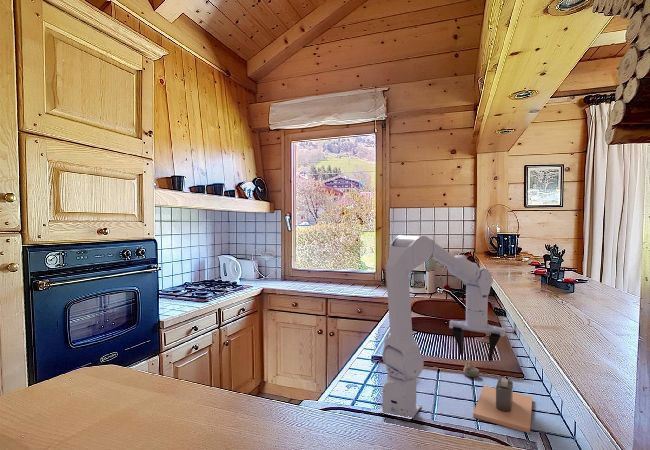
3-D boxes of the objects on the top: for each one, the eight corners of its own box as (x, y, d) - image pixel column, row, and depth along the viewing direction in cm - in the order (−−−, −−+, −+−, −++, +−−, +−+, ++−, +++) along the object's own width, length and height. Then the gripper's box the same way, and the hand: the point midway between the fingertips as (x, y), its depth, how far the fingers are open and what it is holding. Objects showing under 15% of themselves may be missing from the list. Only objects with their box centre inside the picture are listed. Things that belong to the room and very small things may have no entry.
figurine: (482, 376, 109) (480, 356, 110) (473, 380, 107) (470, 359, 108) (469, 373, 114) (466, 353, 115) (459, 376, 112) (456, 356, 113)
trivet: (529, 433, 80) (529, 428, 80) (473, 417, 86) (473, 413, 86) (532, 400, 95) (532, 396, 95) (483, 389, 101) (484, 385, 101)
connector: (510, 413, 86) (510, 388, 86) (494, 409, 88) (495, 384, 88) (512, 399, 93) (513, 376, 93) (498, 396, 95) (499, 373, 95)
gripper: (506, 310, 100) (505, 358, 100) (453, 303, 108) (452, 347, 108) (503, 315, 94) (503, 366, 94) (447, 307, 102) (447, 354, 102)
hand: (475, 356), depth 101 cm, fingers open, 7 cm apart
